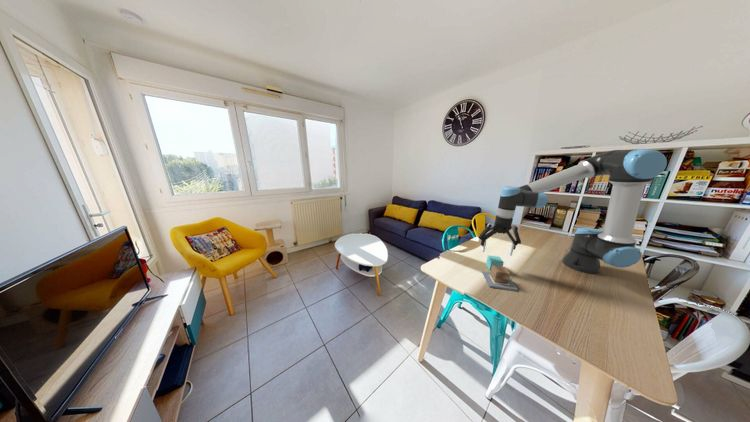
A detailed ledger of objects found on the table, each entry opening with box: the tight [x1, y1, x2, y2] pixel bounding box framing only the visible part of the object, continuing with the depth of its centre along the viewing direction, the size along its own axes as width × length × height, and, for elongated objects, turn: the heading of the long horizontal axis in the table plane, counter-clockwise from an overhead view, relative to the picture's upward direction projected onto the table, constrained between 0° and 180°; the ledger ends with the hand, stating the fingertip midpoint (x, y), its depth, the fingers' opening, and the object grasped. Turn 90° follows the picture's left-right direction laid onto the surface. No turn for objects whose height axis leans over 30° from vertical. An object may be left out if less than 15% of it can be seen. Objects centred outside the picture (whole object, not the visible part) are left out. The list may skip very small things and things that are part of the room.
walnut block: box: [490, 265, 511, 284], centre depth 95 cm, size 6×6×6 cm
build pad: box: [481, 270, 519, 292], centre depth 96 cm, size 12×12×1 cm
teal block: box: [485, 254, 504, 271], centre depth 107 cm, size 6×6×6 cm
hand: (496, 252), depth 105 cm, fingers open, 13 cm apart
